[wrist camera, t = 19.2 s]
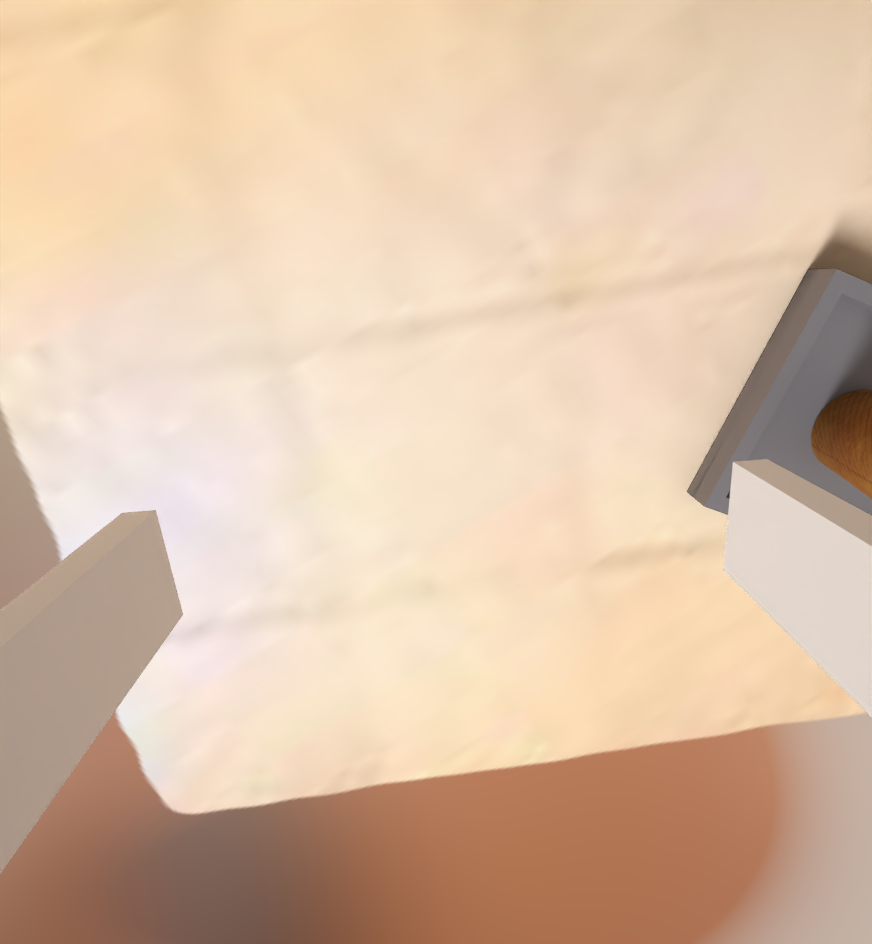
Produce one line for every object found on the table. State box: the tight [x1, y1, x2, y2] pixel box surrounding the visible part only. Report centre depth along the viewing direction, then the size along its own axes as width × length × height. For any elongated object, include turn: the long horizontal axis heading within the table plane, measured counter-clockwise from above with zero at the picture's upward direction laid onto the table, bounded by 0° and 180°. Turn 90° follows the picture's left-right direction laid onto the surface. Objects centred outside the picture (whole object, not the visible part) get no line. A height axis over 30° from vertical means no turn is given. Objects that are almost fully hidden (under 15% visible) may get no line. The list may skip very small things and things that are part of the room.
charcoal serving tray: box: [687, 269, 872, 516], centre depth 43 cm, size 18×18×3 cm
